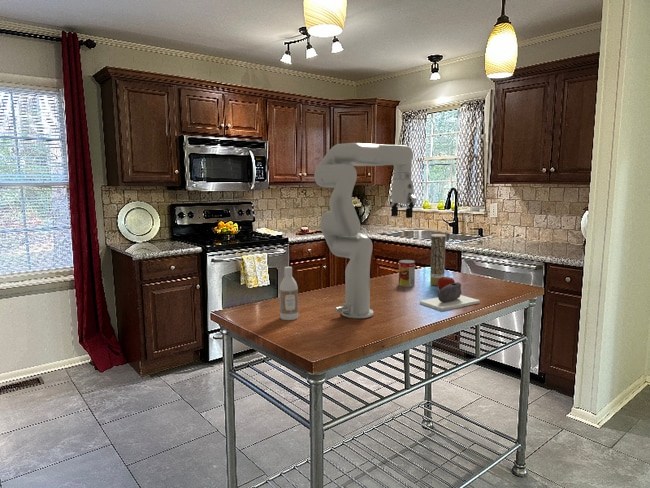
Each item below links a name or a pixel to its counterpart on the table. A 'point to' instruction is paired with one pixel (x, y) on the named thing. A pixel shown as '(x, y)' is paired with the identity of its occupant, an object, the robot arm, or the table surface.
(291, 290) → the bath foam
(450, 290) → the perforated stone tool
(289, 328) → the table surface
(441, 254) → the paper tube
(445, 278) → the apple
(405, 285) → the canned food
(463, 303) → the cream board
